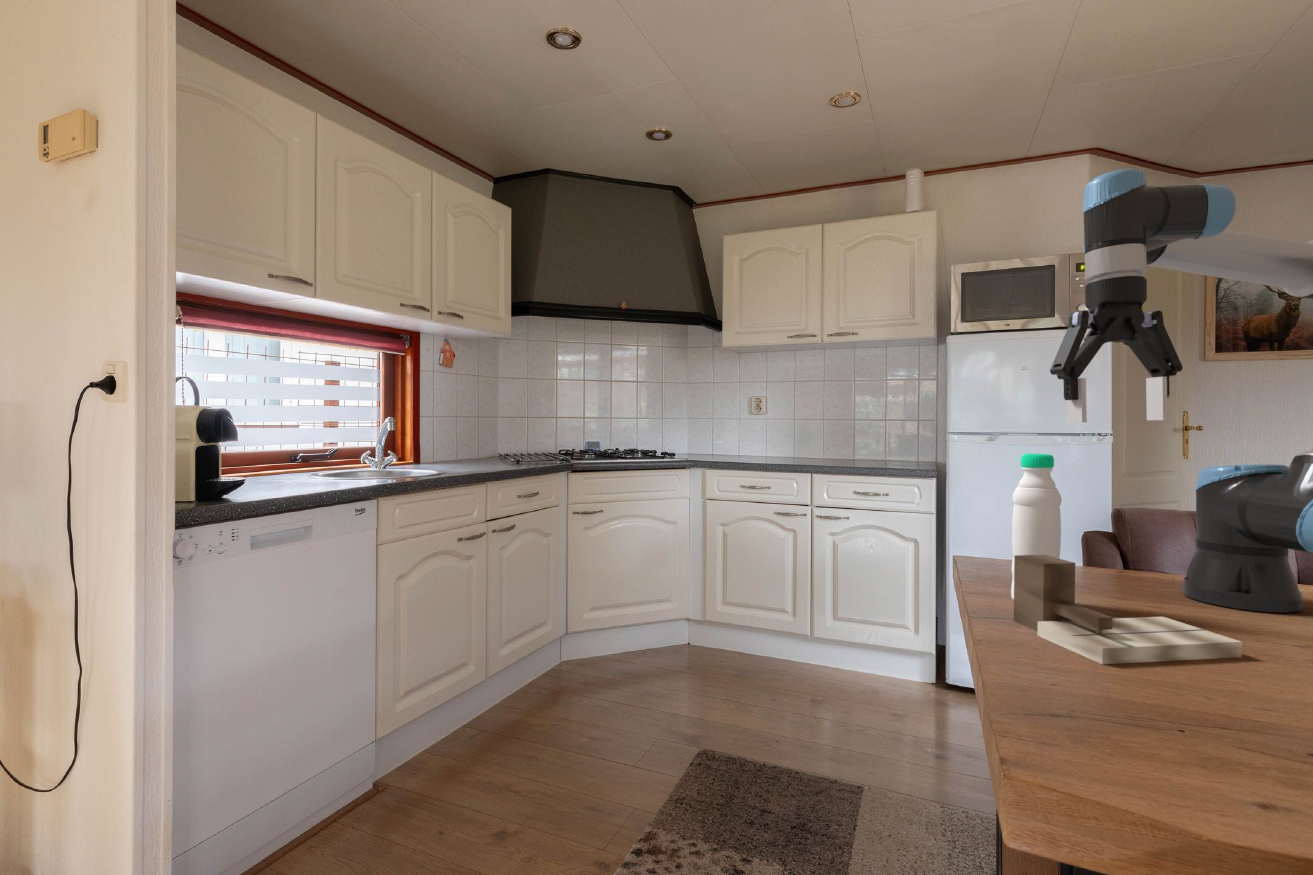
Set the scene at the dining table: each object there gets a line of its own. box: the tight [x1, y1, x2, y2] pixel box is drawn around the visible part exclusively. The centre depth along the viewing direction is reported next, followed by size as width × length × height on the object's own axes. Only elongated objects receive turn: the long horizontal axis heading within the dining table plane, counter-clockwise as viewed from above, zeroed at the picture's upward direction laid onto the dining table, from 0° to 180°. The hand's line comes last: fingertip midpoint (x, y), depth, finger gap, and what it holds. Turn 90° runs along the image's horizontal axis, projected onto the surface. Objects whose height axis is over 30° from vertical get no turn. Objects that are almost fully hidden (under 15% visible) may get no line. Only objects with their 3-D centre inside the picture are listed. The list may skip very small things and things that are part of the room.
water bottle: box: [1010, 453, 1063, 601], centre depth 107 cm, size 7×7×25 cm
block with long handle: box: [1013, 555, 1114, 634], centre depth 90 cm, size 5×14×10 cm, turn 8°
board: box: [1037, 616, 1243, 665], centre depth 86 cm, size 20×11×2 cm, turn 98°
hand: (1117, 421), depth 96 cm, fingers open, 13 cm apart
